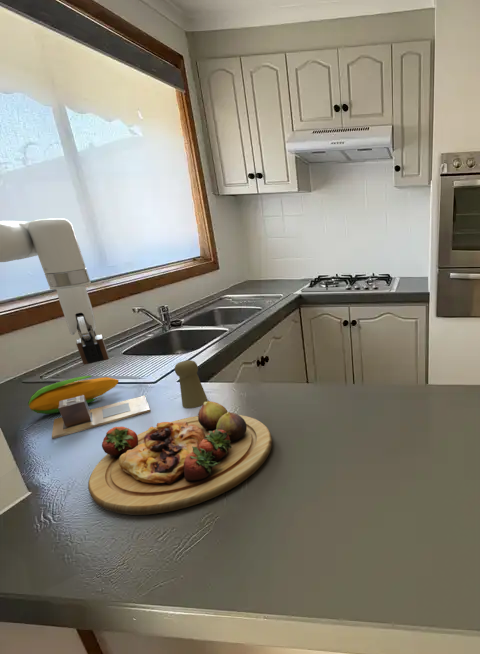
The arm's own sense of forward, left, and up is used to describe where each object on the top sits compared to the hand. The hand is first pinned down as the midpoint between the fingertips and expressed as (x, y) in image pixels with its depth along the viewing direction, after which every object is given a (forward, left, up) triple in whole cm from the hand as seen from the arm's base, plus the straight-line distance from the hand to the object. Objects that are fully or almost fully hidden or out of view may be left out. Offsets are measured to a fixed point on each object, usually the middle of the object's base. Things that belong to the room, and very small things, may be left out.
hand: (95, 357), depth 98 cm
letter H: (-7, +1, -14) cm, 16 cm away
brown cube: (0, 0, 0) cm, 0 cm away
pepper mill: (+17, -7, -15) cm, 24 cm away
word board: (-3, +1, -15) cm, 15 cm away
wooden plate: (+10, -35, -15) cm, 39 cm away
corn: (-7, +14, -15) cm, 22 cm away
